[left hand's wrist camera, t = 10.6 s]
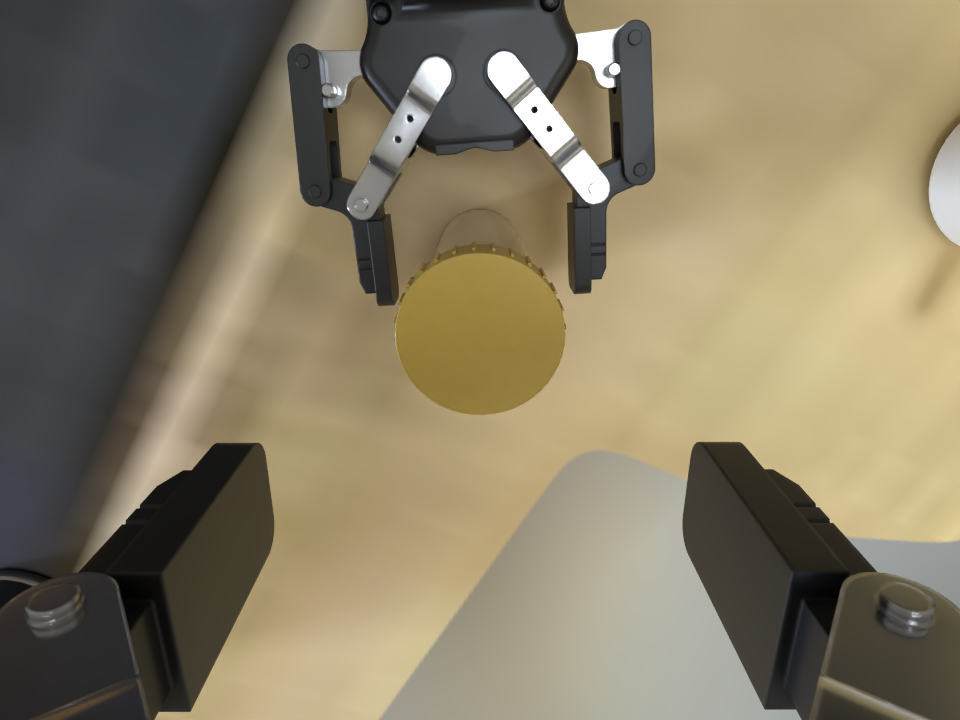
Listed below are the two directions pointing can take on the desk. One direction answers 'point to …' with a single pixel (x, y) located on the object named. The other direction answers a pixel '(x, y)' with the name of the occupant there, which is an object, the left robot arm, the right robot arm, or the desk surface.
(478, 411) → the lid
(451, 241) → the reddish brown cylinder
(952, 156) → the mug
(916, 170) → the desk surface
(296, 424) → the desk surface
